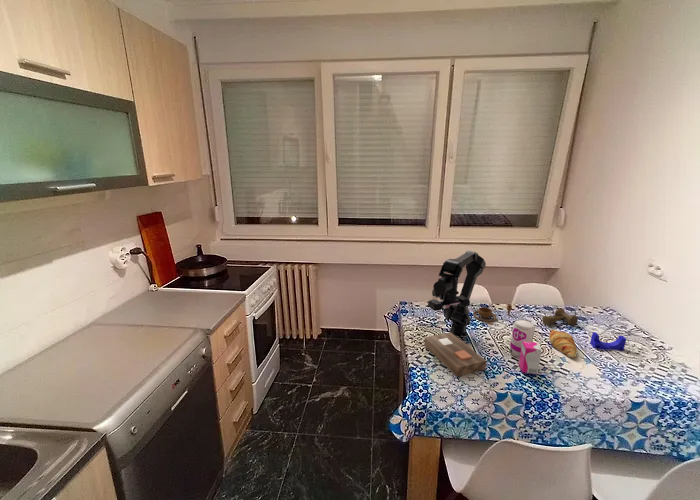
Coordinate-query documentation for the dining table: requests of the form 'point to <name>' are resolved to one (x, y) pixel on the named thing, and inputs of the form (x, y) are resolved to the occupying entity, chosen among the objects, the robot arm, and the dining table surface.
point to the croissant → (563, 343)
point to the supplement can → (521, 336)
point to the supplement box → (530, 358)
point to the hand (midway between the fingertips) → (447, 320)
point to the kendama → (560, 318)
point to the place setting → (488, 314)
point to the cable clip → (615, 345)
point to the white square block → (445, 341)
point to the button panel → (449, 359)
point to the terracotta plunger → (462, 355)
